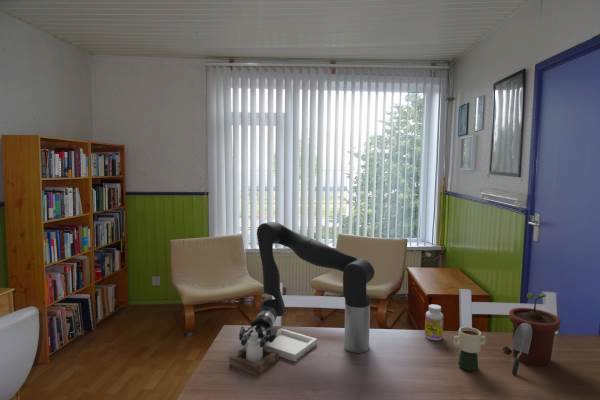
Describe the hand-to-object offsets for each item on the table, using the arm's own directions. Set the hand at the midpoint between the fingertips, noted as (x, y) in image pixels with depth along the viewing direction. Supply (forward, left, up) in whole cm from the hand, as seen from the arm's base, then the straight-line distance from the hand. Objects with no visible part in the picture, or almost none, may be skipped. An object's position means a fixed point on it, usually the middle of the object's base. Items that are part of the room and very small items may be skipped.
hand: (252, 343), depth 136 cm
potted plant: (-57, +78, -8) cm, 97 cm away
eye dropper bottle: (-2, -1, -8) cm, 9 cm away
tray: (-18, +2, -8) cm, 20 cm away
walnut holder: (-2, -1, -8) cm, 8 cm away
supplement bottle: (-57, +46, -8) cm, 74 cm away
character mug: (-40, +62, -8) cm, 74 cm away
